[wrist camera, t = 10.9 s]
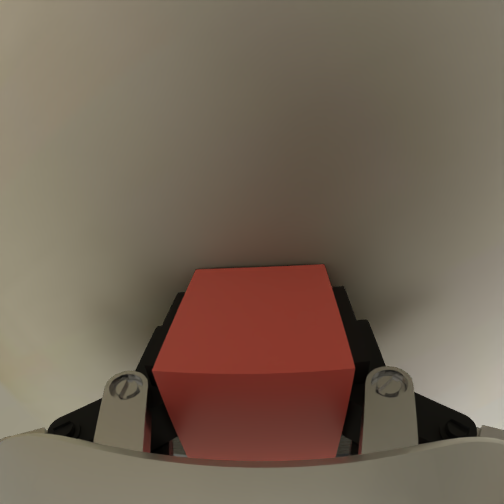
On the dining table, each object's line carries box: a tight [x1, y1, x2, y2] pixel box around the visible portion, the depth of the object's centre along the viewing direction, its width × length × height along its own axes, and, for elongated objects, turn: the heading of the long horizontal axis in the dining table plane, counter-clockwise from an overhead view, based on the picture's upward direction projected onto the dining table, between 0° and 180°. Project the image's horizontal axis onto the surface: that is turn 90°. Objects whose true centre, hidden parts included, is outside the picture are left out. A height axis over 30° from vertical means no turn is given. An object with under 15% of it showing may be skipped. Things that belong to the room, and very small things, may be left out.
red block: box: [152, 264, 355, 461], centre depth 10 cm, size 4×4×5 cm
